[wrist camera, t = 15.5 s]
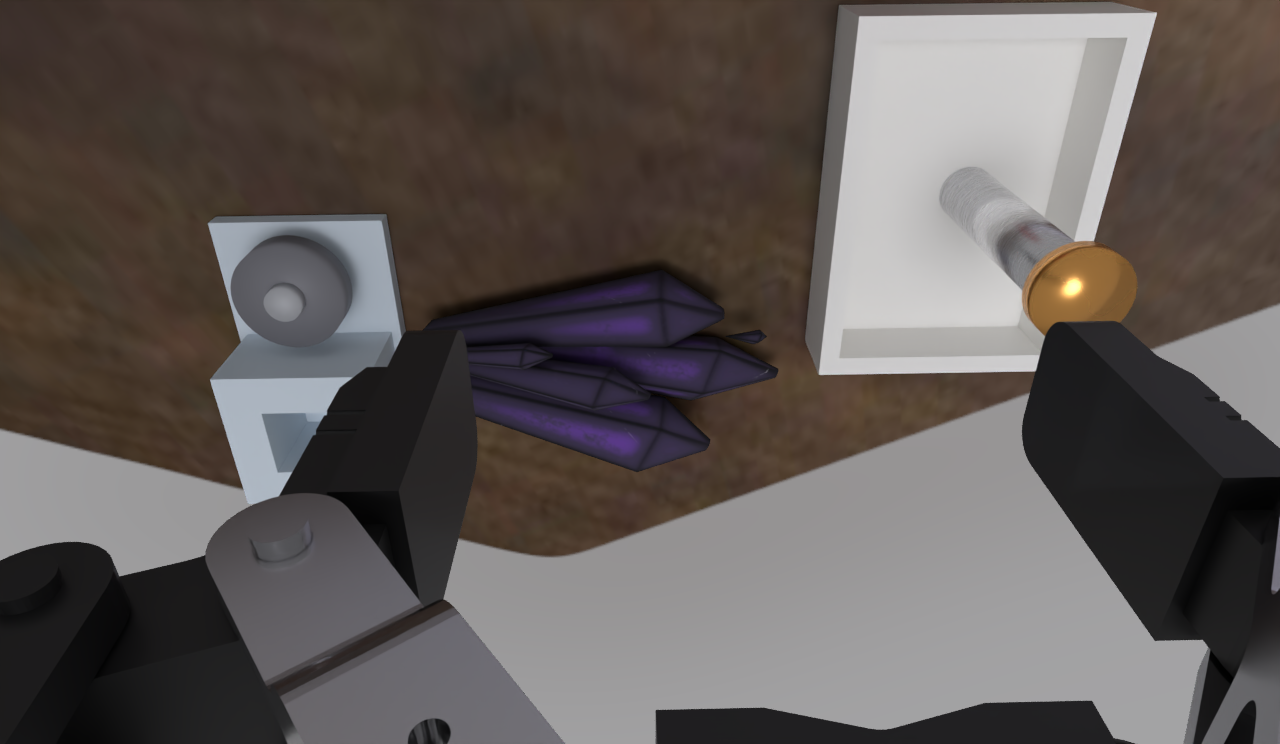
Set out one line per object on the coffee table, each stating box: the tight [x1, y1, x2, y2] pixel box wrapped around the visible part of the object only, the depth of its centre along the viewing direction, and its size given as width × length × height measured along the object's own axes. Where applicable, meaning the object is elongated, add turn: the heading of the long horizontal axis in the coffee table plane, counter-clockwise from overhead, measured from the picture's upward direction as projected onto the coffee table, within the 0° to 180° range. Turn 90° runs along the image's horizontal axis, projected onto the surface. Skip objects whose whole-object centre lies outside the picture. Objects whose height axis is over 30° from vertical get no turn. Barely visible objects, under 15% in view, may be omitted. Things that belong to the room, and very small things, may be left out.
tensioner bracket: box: [208, 214, 406, 504], centre depth 46 cm, size 15×9×6 cm, turn 0°
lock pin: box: [939, 167, 1137, 336], centre depth 38 cm, size 4×4×13 cm
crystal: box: [422, 270, 778, 472], centre depth 47 cm, size 7×12×20 cm
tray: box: [805, 2, 1157, 375], centre depth 43 cm, size 18×13×4 cm
